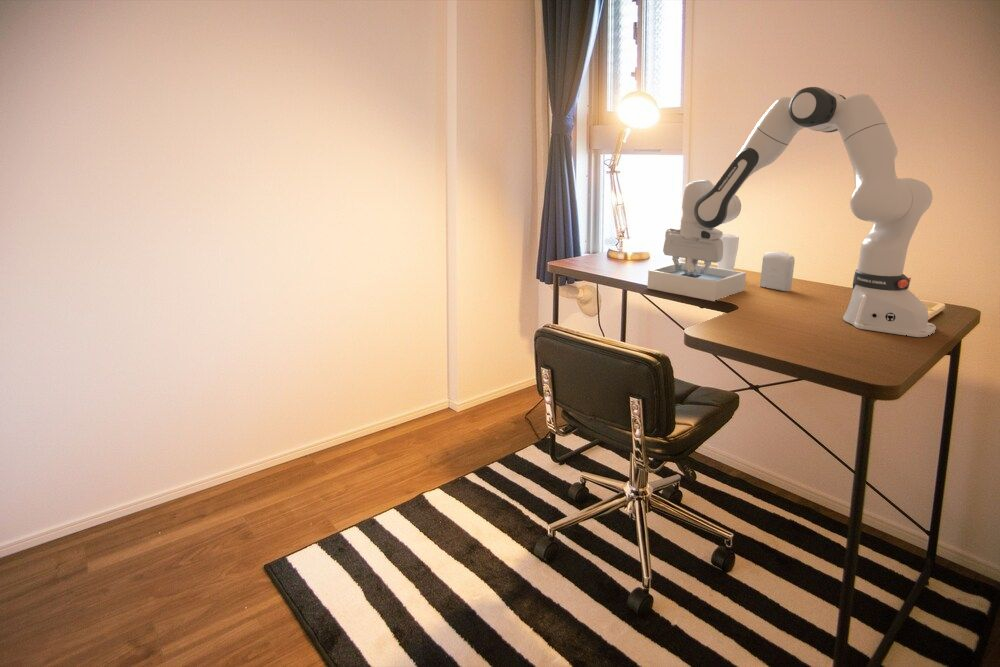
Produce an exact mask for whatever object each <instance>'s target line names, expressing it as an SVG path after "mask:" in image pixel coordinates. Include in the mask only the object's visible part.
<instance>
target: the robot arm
mask: <svg viewBox="0 0 1000 667" xmlns="http://www.w3.org/2000/svg"><path fill="white" fill-rule="evenodd" d="M804 129H809V130H811V131H815V132H822V133H835V132H838V133H839V134H840V137H841V139H842V142H843V145H844V147H845V150H846V153H847V155H848V157H849V158H848V159H849V161H850V163H851V166H852V170H853V171H852V172H853V176H854V190H853V192H852V194H851V197H850V201H849V203H850V204H849V206H850V210H851V212H852V213H853V215H854V217H856V218H857V219H858V220H861V221H865V222H869V223H873V225H872V227H871V229H870V231H869V232H868V234H867V235H866V236H865V237H864V238H863V240H862V242H861V244H860V251H859V255H858V256H859V257H858V263H857V268H856V270H855V271H854V275H853V281H852V294H851V297H850V300H849V303H848V305H847V309H846V311H845V313H844V315H843V317H842V319H843V321H845V322H847V323H848V324H851V325H853V326H854V327H855V328H857V329H860V330H867V331H873V332H879V333H880V332H881V333H887V334H894V335H900V336H906V335H907V337H915V338H924V337H929V336H932V335H933V334H935V332H936V331H937V326H936V325H935V324H934V323H931V322H929V311H928V307H927V305H926V303H924V302H923V301H922V300H920V299H919V298H918V297H917V296H916V295H915V294H914V293H913V292H912V291H911V290H909V287H910V284H911V283H910V282H911V280H912V277H908V276H906V275H905V274H904V269H905V264H906V259H907V254H908V248H909V245H910V242H911V239H912V237H913V234H914V233H915V230H916V228H917V226H918V224H919V222H920V220H921V218H922V216H923V215H924V214H925V213H926V212H927V211H928V209H930V206H932V202H933V190H932V188H930V186H929V185H928V184H927V183H925V182H924V181H921V180H918V179H915V178H913V177H911V178H910V177H907V178H906V177H903V178H899V177H898V176H897V173H896V165H895V162H896V161H895V160H896V157H897V156H898V148H897V146H896V143H895V140H894V137H893V135H892V133H891V130H890V128H889V125H888V123H887V121H886V119H885V117H884V114H883V113H882V110H881V109H880V108H879V106H878V105H877V103H876V101H875V100H874V99H873V98H872V96H870V95H868V94H865V93H857V94H854V95H851V96H849V97H847V98H846V97H845V96H844V95H841V94H839V93H837V92H834V91H833V90H830V89H827V88H821V87H818V86H808V87H804V88H802V89H799V90H798V91H796V92H795V93H794V95H792V97H791V96H790V97H788V96H783V97H780V98H778V99H777V100H775V101H774V103H773V104H771V105H770V107H769V108H768V109H767V110H766V112H764V114H763V115H762V117H761V118H760V119H759V121H758V122H757V123H756V125H755V127H754V129H753V130H752V131H751V133H750V134H749V136H748V138H747V140H746V141H745V143H744V144H743V146H742V147H741V149H740V150H739V152H738V153H737V155H736V156H735V158H734V159H733V161H732V162H731V163H730V165H729V166H728V168H727V169H726V170H725V171H724V173H723V174H722V176H720V178H719V180H718V181H717V182H716V184H714V183H712V181H711V180H709V179H702V180H695V181H690V182H688V183H687V184H686V186H685V187H684V190H683V196H682V197H683V198H682V205H681V206H682V207H681V208H682V216H681V220H680V228H678V227H669V228H668V229H667V230H665V236H664V237H665V238H664V243H663V250H662V252H663V254H664V255H665V256H669V257H670V256H671V257H672V261H673V264H675V270H681V266H682V265H681V264H679V262H680V261H679V260H680V258H683V259H686V258H687V257H692V259H694V260H698V261H701V262H703V264H704V266H705V267H704V268H702V269H701V270H700V271H701V272H700V274H703V275H706V274H707V269H708V268H709V267H711V265H712V263H717V262H720V261H721V260H722V258H723V242H722V240H721V239H720V238H721V237H722V235H723V231H721V230H720V229H718V228H716V227H718V226H721V225H723V224H727V223H729V222H731V221H733V220H735V219H737V217H738V216H739V215H740V213H741V210H742V204H741V200H740V198H739V197H738V196H737V195H736V194H737V193H738V191H739V190H740V188H741V187H742V186H743V184H744V183H745V182H746V181H747V179H748V178H749V177H750V176H752V175H753V174H754V173H756V172H757V171H758V172H759V170H761V169H763V168H765V167H767V166H769V165H771V164H773V163H774V162H775V161H777V159H778V158H779V157H780V156H781V155H782V154H783V153H784V152H785V151H786V149H787V147H788V146H790V143H791V142H792V140H793V139H794V138H795V136H796V135H797V134H798V133H799V132H800V131H801V130H804ZM935 330H936V331H935ZM932 333H933V334H932ZM931 334H932V335H931ZM928 335H929V336H928Z"/></svg>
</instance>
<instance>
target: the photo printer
mask: <svg viewBox="0 0 1000 667" xmlns="http://www.w3.org/2000/svg"><path fill="white" fill-rule="evenodd" d="M795 261H796V260H795V256H793V255H792V254H789V253H788V252H785V251H779V250H774V251H773V250H772V251H766V252H765V253H764V254H763V256H762V264H761V274H760V283H759V287H761V288H765V287H766V288H767V289H770V290H771V289H772V290H777V291H782V292H790V291H791V290H792V285H793V277H794V268H795Z"/></svg>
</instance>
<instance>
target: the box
mask: <svg viewBox="0 0 1000 667" xmlns="http://www.w3.org/2000/svg"><path fill="white" fill-rule="evenodd" d="M679 264H681V265H682V266H681V270H675V264H674V263H671V264H668V265H667V264H666V265H664V266H659V267H656V268H653V269H649V270H648V271H647V273H648V274H647V287H646V288H647V289H650V290H655V291H658V292H659V291H660V292H665V293H670V294H675V295H679V296H680V295H681V296H686V297H691V298H695V299H700V300H706V301H711V302H716V301H715V300H717V299H719V298H722V297H725V296H728V297H730V296H729V295H731V296H733V295H736V294H738V292H739V293H741V292H743V290H744V291H745V286H746V285H745V284H746V279H747V278H746V276H747V272H745V271H739V270H735V269H734V270H728V269H721V268H717V267H714V266H709V268H708V269H707V274H706V275H703V274H700V272H701V271H700V270H701V269H702V268H704V267H705V265H703V264H702V265H701V264H698V267H697V278H694V277H688V276H684V273H685V262H684V261H683V262H682V261H679ZM735 293H736V294H735ZM732 294H733V295H732ZM725 298H726V297H725ZM722 299H723V298H722ZM717 301H718V300H717Z"/></svg>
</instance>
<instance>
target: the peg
mask: <svg viewBox="0 0 1000 667" xmlns="http://www.w3.org/2000/svg"><path fill="white" fill-rule="evenodd" d="M684 263H685V273H684V276H688V277H694V278H697V267H698V265H699V260H694V259H692V257H687V258H685V262H684Z"/></svg>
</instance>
